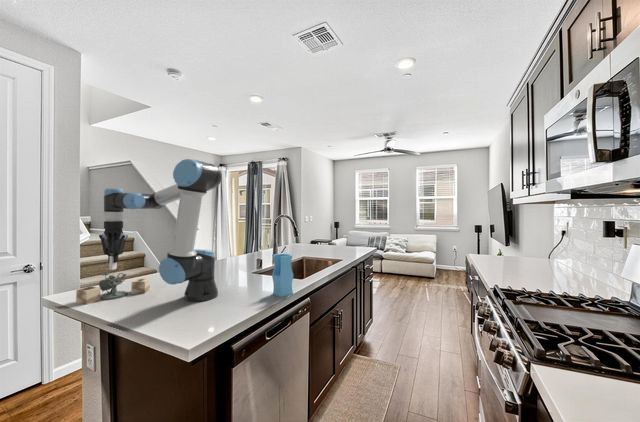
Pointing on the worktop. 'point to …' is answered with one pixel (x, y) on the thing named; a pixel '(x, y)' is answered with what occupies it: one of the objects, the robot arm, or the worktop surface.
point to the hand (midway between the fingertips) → (113, 269)
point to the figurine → (109, 284)
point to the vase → (282, 275)
